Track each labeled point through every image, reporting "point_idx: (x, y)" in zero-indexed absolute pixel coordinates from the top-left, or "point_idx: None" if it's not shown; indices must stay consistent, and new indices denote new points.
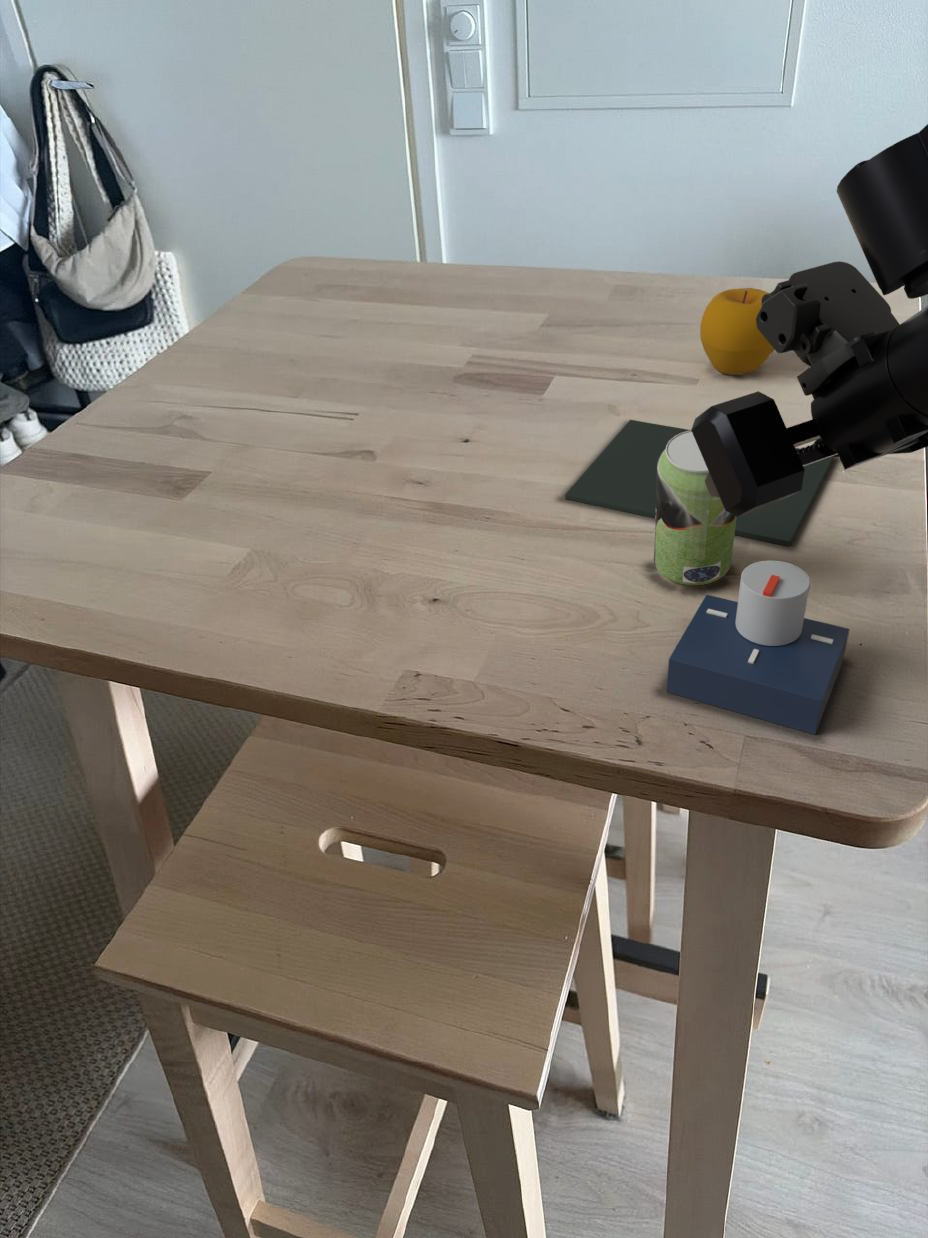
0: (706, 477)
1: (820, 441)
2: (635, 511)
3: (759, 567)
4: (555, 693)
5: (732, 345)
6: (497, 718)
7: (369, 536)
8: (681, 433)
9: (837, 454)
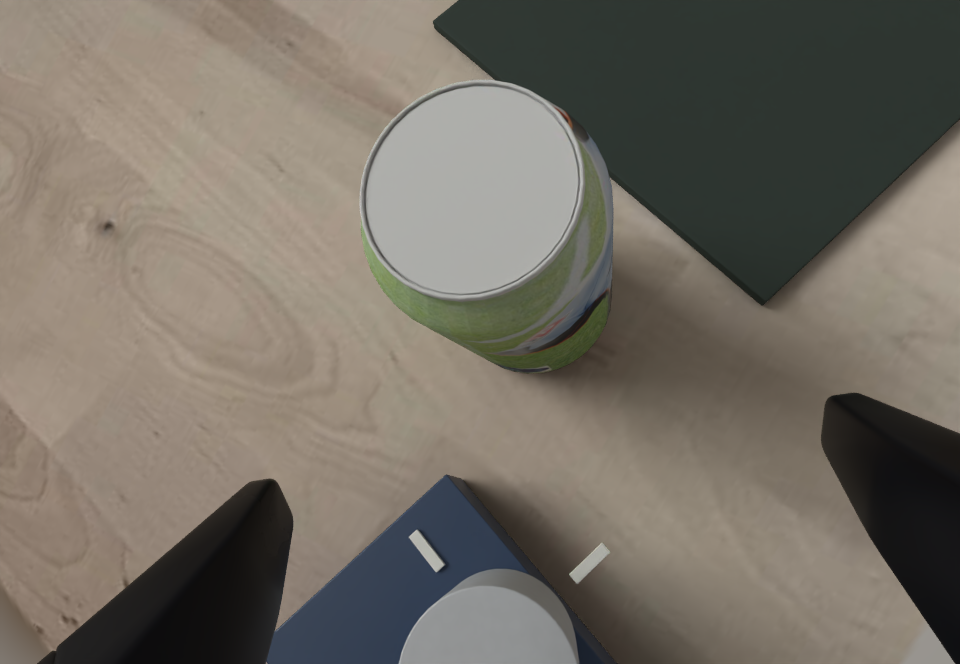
0: (222, 506)
1: (855, 431)
2: None
3: (478, 614)
4: (138, 538)
5: None
6: (29, 557)
7: (108, 36)
8: (455, 86)
9: (885, 551)
